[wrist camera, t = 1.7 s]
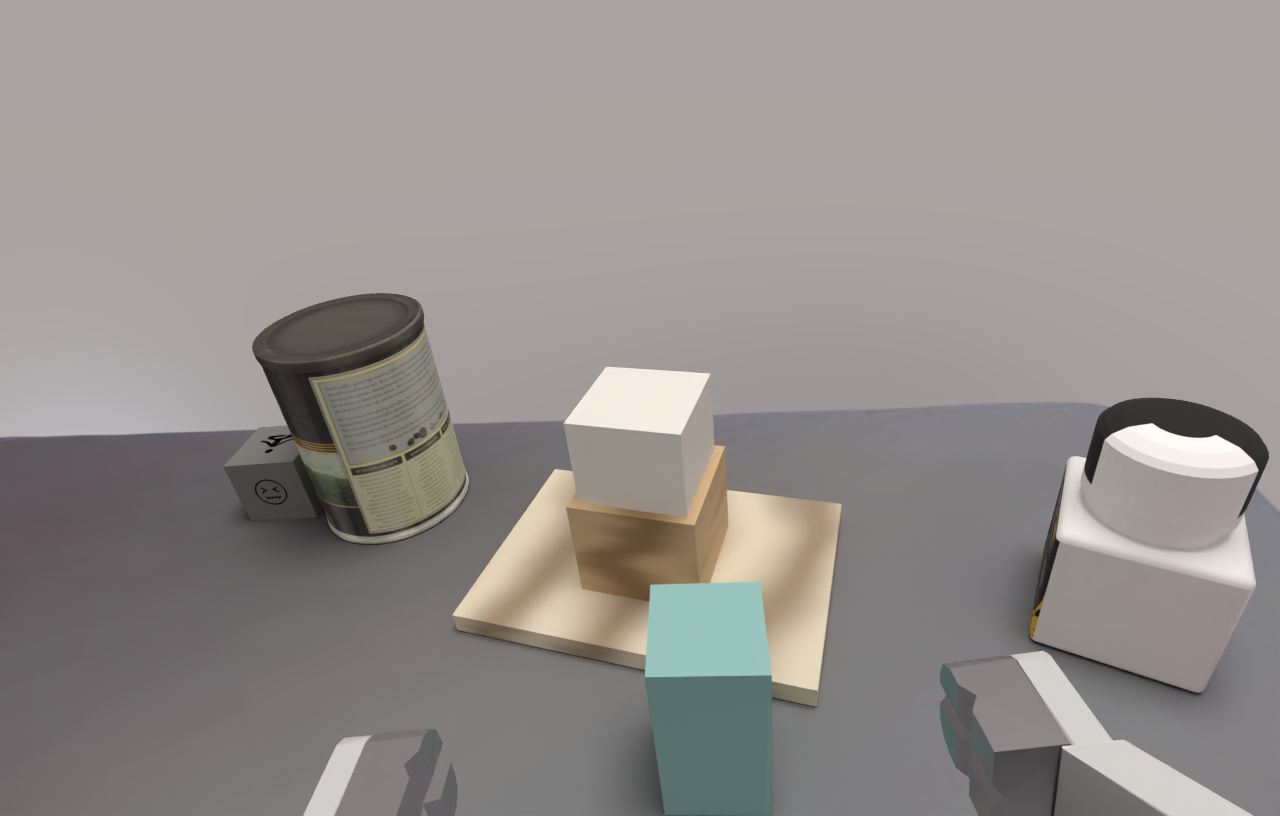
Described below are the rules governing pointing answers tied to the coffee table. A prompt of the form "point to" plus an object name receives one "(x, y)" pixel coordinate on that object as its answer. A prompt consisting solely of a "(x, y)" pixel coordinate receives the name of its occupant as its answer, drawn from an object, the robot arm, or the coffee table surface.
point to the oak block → (651, 540)
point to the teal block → (710, 698)
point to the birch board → (618, 626)
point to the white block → (642, 440)
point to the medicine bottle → (1152, 541)
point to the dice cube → (272, 477)
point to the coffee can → (367, 414)
